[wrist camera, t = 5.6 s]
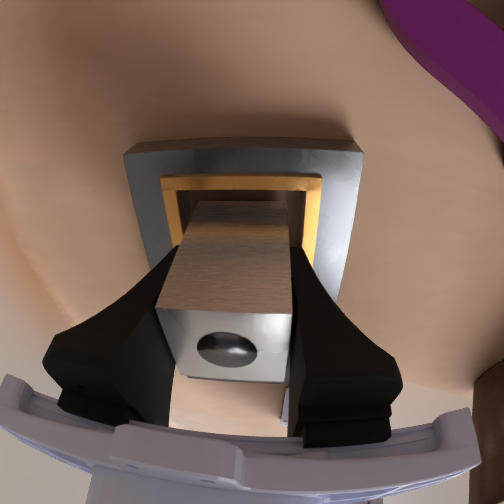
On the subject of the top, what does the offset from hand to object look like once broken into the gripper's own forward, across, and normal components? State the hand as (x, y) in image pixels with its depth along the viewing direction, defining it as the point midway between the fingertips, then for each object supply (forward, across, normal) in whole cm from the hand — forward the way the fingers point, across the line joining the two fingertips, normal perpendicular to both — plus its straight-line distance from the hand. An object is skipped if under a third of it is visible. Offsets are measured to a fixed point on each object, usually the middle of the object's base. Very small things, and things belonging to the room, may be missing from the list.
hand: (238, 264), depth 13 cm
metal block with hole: (+2, 0, 0) cm, 2 cm away
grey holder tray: (+3, 0, +4) cm, 6 cm away
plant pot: (+3, -30, +20) cm, 36 cm away
